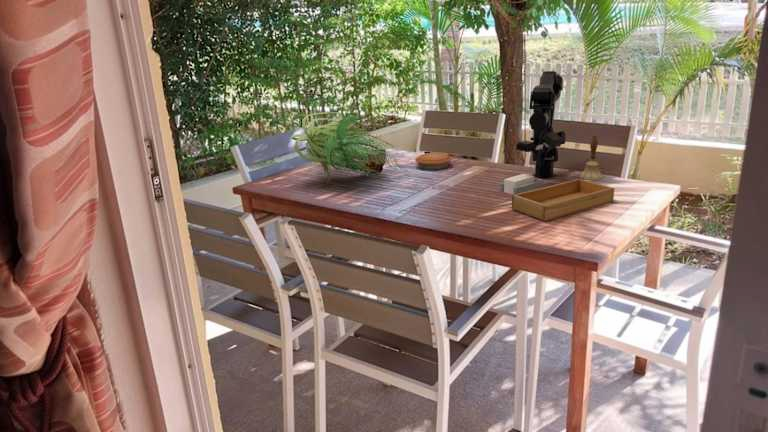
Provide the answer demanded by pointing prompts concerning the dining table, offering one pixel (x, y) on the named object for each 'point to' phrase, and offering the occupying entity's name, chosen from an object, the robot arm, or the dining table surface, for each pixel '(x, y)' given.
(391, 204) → the dining table surface
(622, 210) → the dining table surface
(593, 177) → the hand bell
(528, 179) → the block
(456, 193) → the dining table surface
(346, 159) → the plant
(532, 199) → the tray
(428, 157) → the pie
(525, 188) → the holder
